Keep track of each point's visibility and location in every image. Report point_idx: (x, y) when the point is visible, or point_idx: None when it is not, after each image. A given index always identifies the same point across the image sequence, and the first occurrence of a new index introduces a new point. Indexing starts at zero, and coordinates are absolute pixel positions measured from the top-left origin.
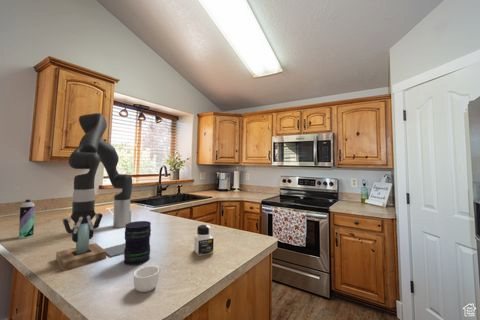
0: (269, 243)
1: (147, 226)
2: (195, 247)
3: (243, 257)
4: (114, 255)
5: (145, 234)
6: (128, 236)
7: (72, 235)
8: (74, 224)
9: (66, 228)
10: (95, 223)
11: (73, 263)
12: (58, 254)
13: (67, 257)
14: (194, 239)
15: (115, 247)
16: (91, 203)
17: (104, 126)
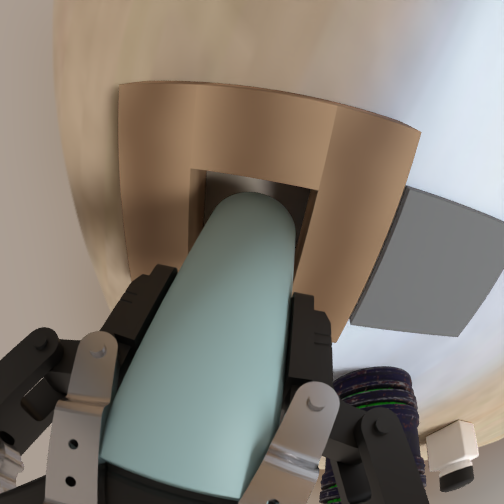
0: (486, 444)
1: None
2: (448, 437)
3: (427, 457)
4: (368, 325)
5: None
6: (329, 487)
7: (113, 325)
8: (65, 433)
9: (29, 404)
10: (372, 462)
11: None
12: (120, 151)
13: (153, 255)
14: (460, 447)
15: (458, 240)
16: None
17: None
